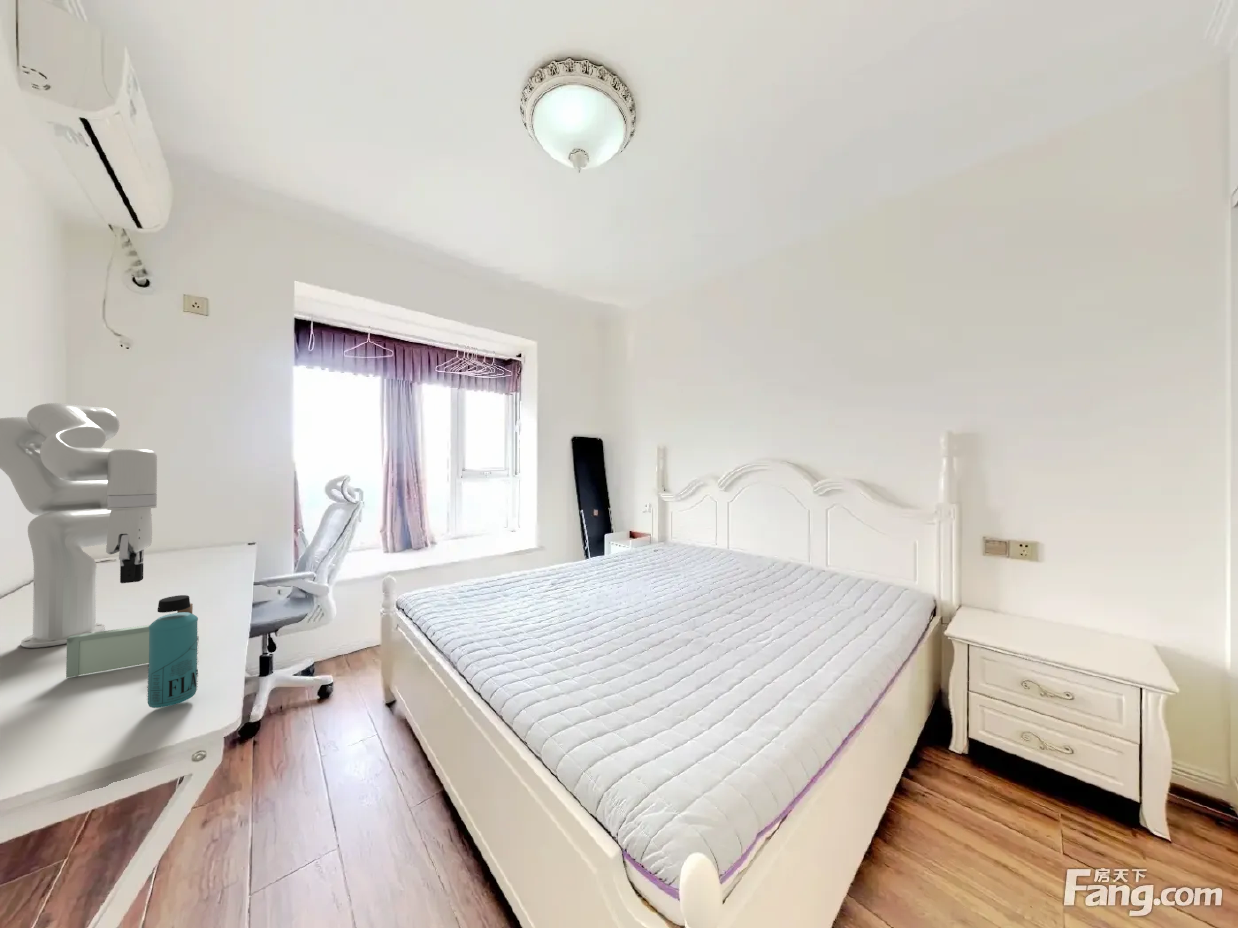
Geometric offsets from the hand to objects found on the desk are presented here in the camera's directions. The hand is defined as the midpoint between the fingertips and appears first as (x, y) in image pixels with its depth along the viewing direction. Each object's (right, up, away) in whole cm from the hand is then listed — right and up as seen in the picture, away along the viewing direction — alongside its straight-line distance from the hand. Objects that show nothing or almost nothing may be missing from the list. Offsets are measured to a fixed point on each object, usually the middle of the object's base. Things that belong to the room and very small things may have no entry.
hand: (131, 581), depth 97 cm
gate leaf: (+6, -16, -7) cm, 19 cm away
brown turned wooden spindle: (+14, -17, -2) cm, 22 cm away
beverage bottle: (+31, -17, -20) cm, 41 cm away
